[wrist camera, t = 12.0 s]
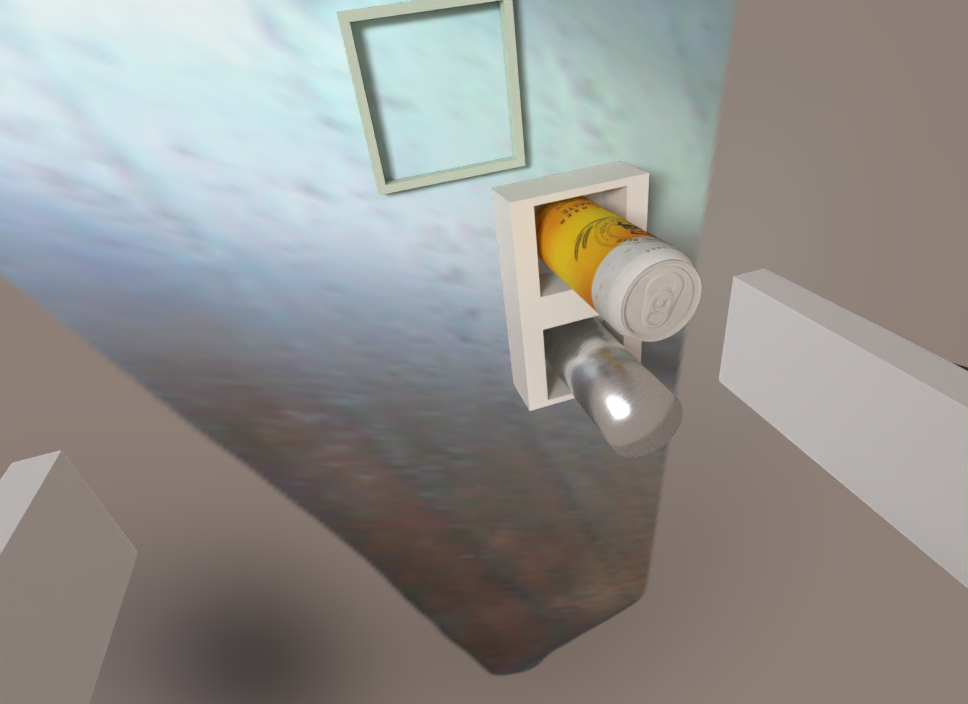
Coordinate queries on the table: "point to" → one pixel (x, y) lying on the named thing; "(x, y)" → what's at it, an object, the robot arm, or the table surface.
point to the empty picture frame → (425, 3)
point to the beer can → (618, 268)
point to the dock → (534, 286)
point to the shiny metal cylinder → (613, 387)
